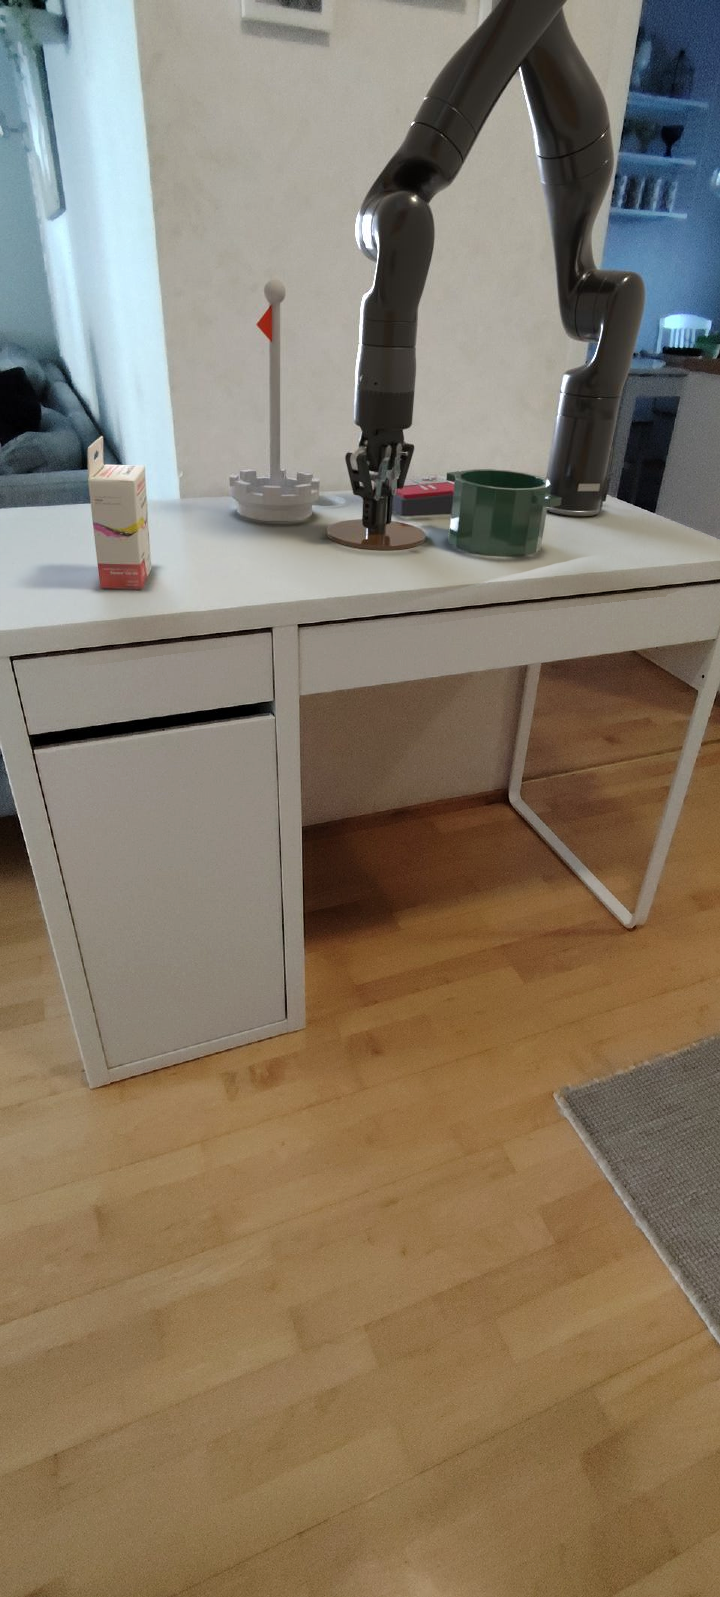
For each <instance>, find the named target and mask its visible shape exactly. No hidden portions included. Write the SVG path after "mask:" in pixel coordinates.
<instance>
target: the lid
mask: <svg viewBox="0 0 720 1597" xmlns="http://www.w3.org/2000/svg"><path fill="white" fill-rule="evenodd" d="M379 500H380V511H379V526H378V528H375V529H370V528H365V527H364V526H363V525H362V518H360V519H359V518H358V519H350V520H349V519H348V520H347V519H346V520H342V521H338V522H334V523H332V524H330V525H329V526H328V527H327V528H326V536H327V537H328V538H329V539H330V540H331V541H333V542H335V543H337V544H341V545H344V546H347V547H350V548H357V549H361V550H363V549H364V550H373V551H395V550H396V551H397V550H398V551H399V550H406V549H411V548H415V547H418V546H421V545H423V544H424V543H425V541H426V537H427V535H426V532H425V531H424V530H423V529H421V528H419V527H417V526H414V525H412V524H408V523H404V522H400V521H396V520H395V521H394V520H391V523H390V524H387V525H386V521H387V506H388V495H385V494H381V495H380V499H379Z"/></svg>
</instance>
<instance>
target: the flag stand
mask: <svg viewBox="0 0 720 1597" xmlns="http://www.w3.org/2000/svg"><path fill="white" fill-rule="evenodd" d="M262 288H263V289H262V292H263V296H264V299H265V300H266V301H267V303H268V308H267V310H266V311H265V312H264V313H263V315H262V316H261V318H260V319H259V320H258V321H257V323H256V324H255V325H256V326H257V328H258V329H259V330H260V331H261V332H262V333H263V335H264V336H265V337H266V338H267V339H268V383H269V384H268V398H269V399H268V403H269V404H268V409H269V410H268V414H269V415H268V416H269V420H268V421H269V423H268V424H269V427H268V428H269V430H268V432H269V433H268V434H269V468H268V476H257V470H256V469H253V468H251V469H244V470H239V474H238V473H231V474H229V495H230V496H231V497H232V498H233V499H234V501H235V502H237V513H238V514H239V515H240V516H242V517H245V518H247V519H251V520H258V521H265V522H266V521H267V522H291V521H293V522H294V521H300V520H304V519H307V518H309V517H311V516H312V514H313V504H314V503H315V502H316V501H317V500H318V499H319V498H320V484H321V483H320V478H319V477H314V474H312V473H309V472H305V471H298V472H296V478H294V477H287V469H284V468H281V303H282V302H283V301H284V300H285V299H286V294H287V291H286V287H285V284H284V283H283V282H282V281H281V280H280V279H279V278H270V279H268V280H267V281H266V282H265V283H264V285H263V287H262Z"/></svg>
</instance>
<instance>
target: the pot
mask: <svg viewBox="0 0 720 1597" xmlns="http://www.w3.org/2000/svg"><path fill="white" fill-rule="evenodd" d="M446 476H447V477H446V480H448V481H451V482H454V485H453V495H452V505H451V514H449V523H448V524H449V525H448V533H447V534H448V535H447V540H448V544H450V545H451V546H453V547H454V548H455V549H456V548H457V549H458V550H461V551H465V552H468V553H472V554H478V555H482V556H490V557H505V558H509V557H510V558H511V557H525V556H530V555H533V554H537V553H538V552H539V551H541V549H542V544H543V537H544V531H545V525H546V519H547V514H548V511H547V507H554V506H559V505H560V504H561V497H558V496H554V495H550V489H551V483H550V482H549V480H547V479H546V477H545V478H544V477H542V476H540V475H536V474H532V473H528V472H523V471H515V470H509V469H508V470H507V469H495V468H494V469H493V468H484V469H483V468H481V469H480V468H479V469H477V468H475V469H468V470H467V469H465V470H461V471H459V470H456V471H450V472H446Z"/></svg>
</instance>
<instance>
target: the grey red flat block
mask: <svg viewBox="0 0 720 1597" xmlns="http://www.w3.org/2000/svg"><path fill="white" fill-rule="evenodd" d="M446 477H447V475H441V476H438V475H427V476H415V477H414V476H413V477H410V478H407V477H406V479H405V483H404V486H403V488H402V489H397V493H396V495H395V496H393V505H392V512H395V513H396V514H398V515H400V516H401V517H419V516H440V515H450V514H451V505H452V495H453V485H454V482H451V481H448V480H446Z"/></svg>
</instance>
